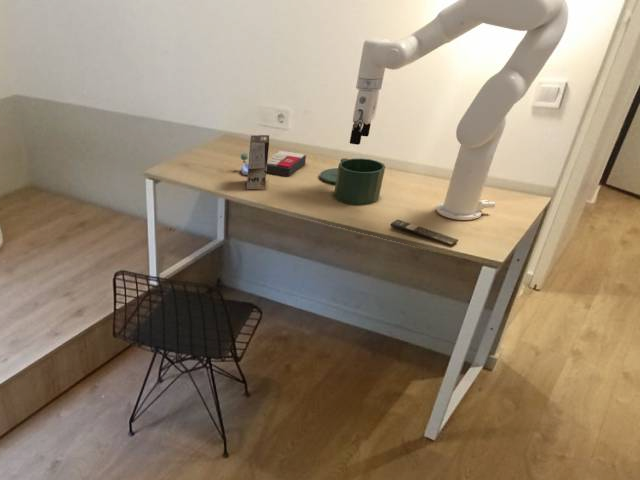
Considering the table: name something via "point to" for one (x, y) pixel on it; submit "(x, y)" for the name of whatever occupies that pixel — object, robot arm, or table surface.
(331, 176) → the tin lid
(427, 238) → the table surface
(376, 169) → the tin
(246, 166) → the figurine
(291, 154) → the grey red flat block
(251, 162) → the coffee box
